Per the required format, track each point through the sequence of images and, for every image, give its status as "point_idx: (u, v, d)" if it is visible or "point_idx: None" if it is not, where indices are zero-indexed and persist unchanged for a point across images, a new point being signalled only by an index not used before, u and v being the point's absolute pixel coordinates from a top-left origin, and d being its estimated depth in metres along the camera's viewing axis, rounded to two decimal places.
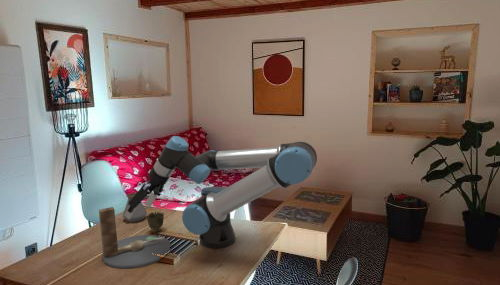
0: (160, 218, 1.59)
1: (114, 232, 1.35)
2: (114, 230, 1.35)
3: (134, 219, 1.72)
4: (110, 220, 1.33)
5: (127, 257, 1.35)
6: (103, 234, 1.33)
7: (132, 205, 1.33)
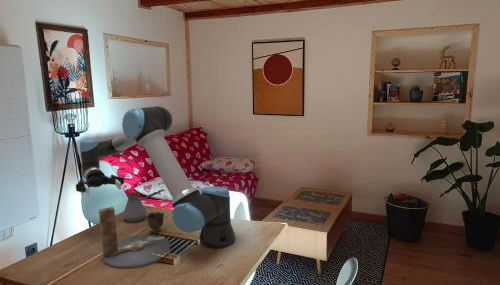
0: (160, 218, 1.59)
1: (114, 232, 1.35)
2: (114, 230, 1.35)
3: (134, 219, 1.72)
4: (110, 220, 1.33)
5: (127, 257, 1.35)
6: (103, 234, 1.33)
7: None
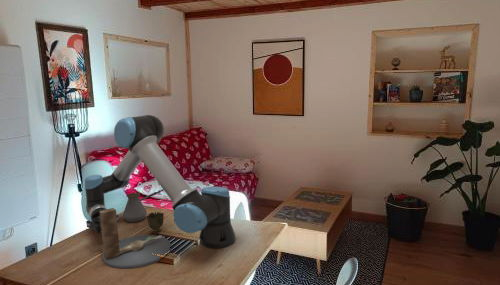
0: (160, 218, 1.59)
1: (116, 233, 1.34)
2: (116, 231, 1.34)
3: (134, 219, 1.72)
4: (112, 221, 1.32)
5: (127, 257, 1.35)
6: (105, 236, 1.31)
7: None
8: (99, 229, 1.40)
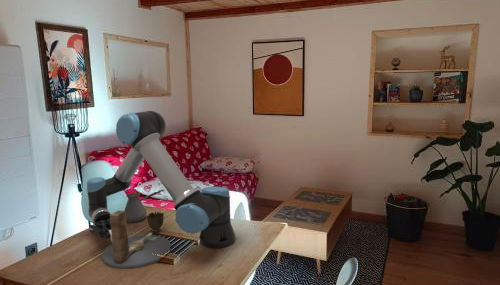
0: (160, 218, 1.59)
1: (126, 235, 1.32)
2: (126, 233, 1.32)
3: (134, 219, 1.72)
4: (123, 223, 1.30)
5: None
6: (119, 239, 1.28)
7: None
8: (102, 234, 1.36)
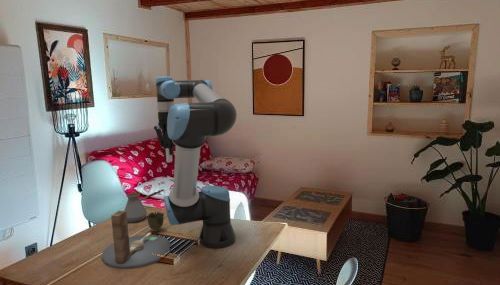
0: (160, 218, 1.59)
1: (127, 235, 1.32)
2: (127, 233, 1.32)
3: (134, 219, 1.72)
4: (124, 223, 1.30)
5: None
6: (121, 239, 1.28)
7: None
8: None
